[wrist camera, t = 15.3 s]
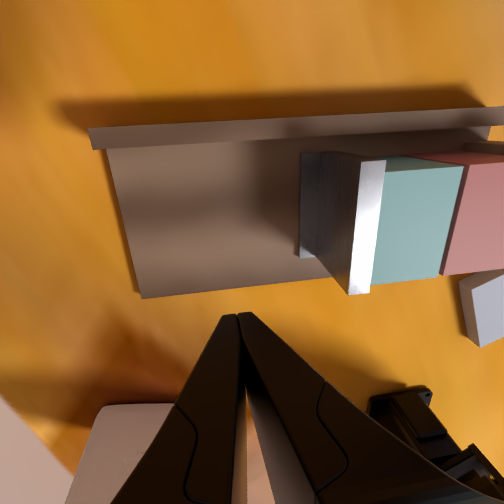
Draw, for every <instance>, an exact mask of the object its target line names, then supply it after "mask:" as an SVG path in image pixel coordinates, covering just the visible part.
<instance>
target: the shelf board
mask: <svg viewBox="0 0 504 504" xmlns="http://www.w3.org/2000/svg"><path fill="white" fill-rule="evenodd" d="M498 125H504V106H499V107H480V108H461V109H442V110H423V111H403V112H384V113H365V114H346V115H326V116H307V117H288V118H269V119H250V120H230V121H211V122H192V123H173V124H154V125H134V126H115V127H96V128H87V129H88V133H89V137H90V141H91V145H92V149H93V150H99V149H106V152H107V156H108V160H109V164H110V168H111V173H112V177H113V181H114V185H115V189H116V194H117V198H118V202H119V206H120V210H121V215H122V219H123V223H124V227H125V231H126V236H127V240H128V244H129V248H130V252H131V257H132V261H133V265H134V269H135V274H136V278H137V282H138V286H139V290H140V295H141V299H147V298H156V297H164V296H173V295H182V294H190V293H199V292H207V291H216V290H224V289H233V288H242V287H250V286H259V285H267V284H276V283H284V282H293V281H302V280H310V279H319V278H327V277H332V275H331V274H330V273H329V272H328V271H327V269H326V268H325V267H324V266H323V265H322V263H321V262H320V261H319V260H318V259H317V257H311V258H302V259H299V257H298V248H299V189H300V153H311V152H326V151H342V152H347V153H352V154H357V155H363V156H368V157H380V156H394V155H396V156H400V154H415V153H429V152H443V151H466V152H476V153H486V154H496V155H504V142H503V141H487V139H488V135H489V132H490V128H491V126H498ZM501 270H503V271H504V269H501Z"/></svg>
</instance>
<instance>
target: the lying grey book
mask: <svg viewBox="0 0 504 504" xmlns="http://www.w3.org/2000/svg"><path fill="white" fill-rule="evenodd" d="M458 285H459V291H460V296H461V302H462V308H463V313H464V319H465V325H466V330H467V336H468V338H469V339H470V340H471V341H472V342H474V343H475V344H476V345H477V346H479V347H480V348H481V347H483V346H485V345H487V344H490V343H492V342H494V341H496V340H498V339H500V338H502V337H504V271H503V270H501V269H496V270H488V271H480V272H477V273H475V274H472V275H470V276H468V277H466V278H464V279H462V280H460V281H458Z"/></svg>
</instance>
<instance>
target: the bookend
mask: <svg viewBox="0 0 504 504" xmlns="http://www.w3.org/2000/svg"><path fill="white" fill-rule="evenodd" d="M385 168H386V160H383V159H378V158H373V157H368V156H363V155H357V154H352V153H347V152H342V151H326V152H311V153H300V189H299V248H298V257H299V259H302V258H311V257H317V259H318V260H319V261H320V262H321V263H322V265H323V266H324V267H325V268H326V269H327V271H328V272H329V273H330V274H331V275H332V277H333V278H334V279H335V280H336V281H337V283H338V284H339V285H340V286H341V287H342V288H343V290H344V291H345V292H346V293H347V294H348V295H355V294H363V293H369V289H370V281H371V274H372V266H373V259H374V251H375V243H376V236H377V228H378V221H379V213H380V206H381V198H382V190H383V183H384V175H385Z"/></svg>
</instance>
